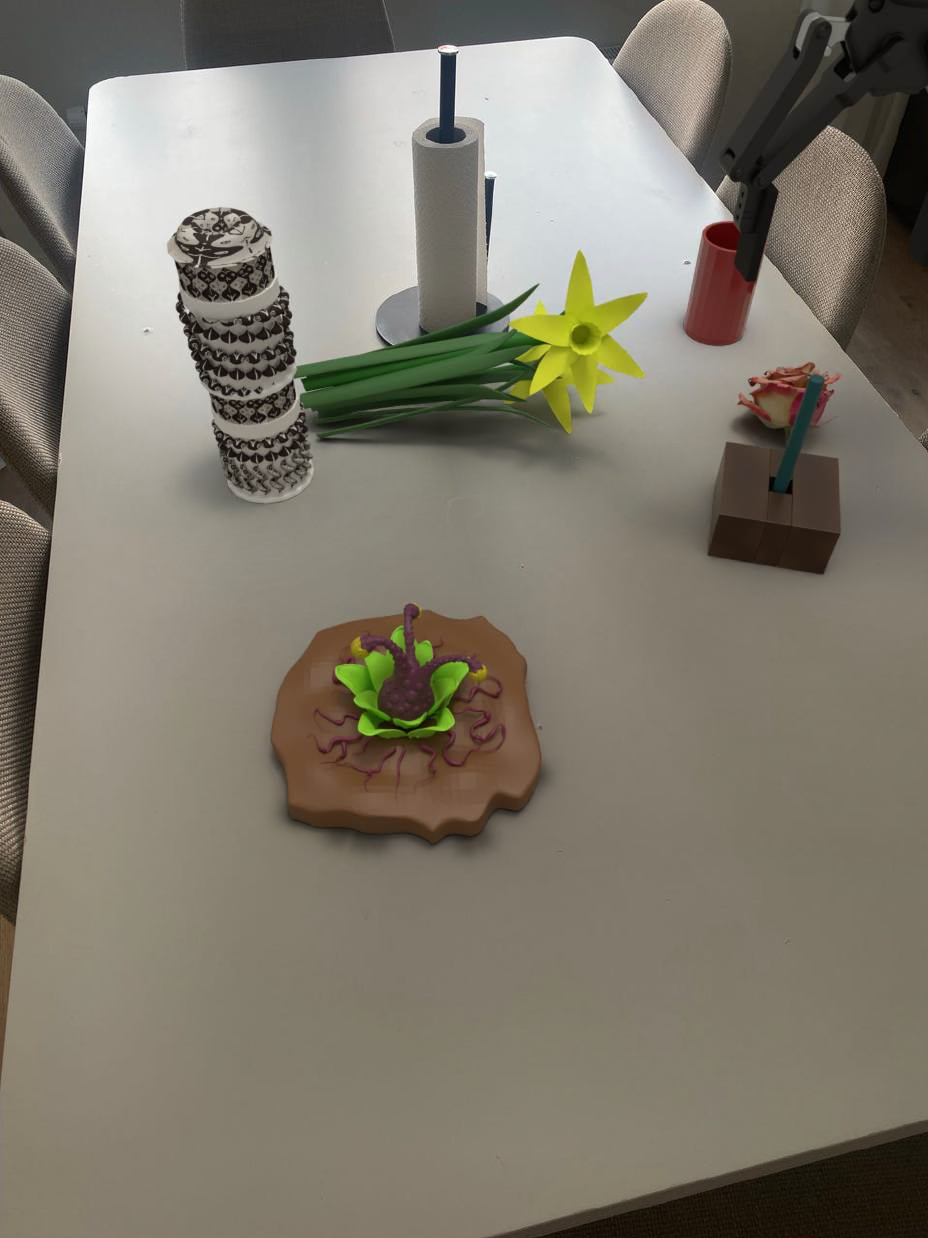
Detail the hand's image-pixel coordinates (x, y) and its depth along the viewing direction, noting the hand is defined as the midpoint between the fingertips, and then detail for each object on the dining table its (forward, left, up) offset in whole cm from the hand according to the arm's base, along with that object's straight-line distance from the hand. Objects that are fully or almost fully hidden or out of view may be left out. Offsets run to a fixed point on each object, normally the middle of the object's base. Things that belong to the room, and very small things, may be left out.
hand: (832, 265), depth 68 cm
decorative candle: (+46, +7, -24) cm, 52 cm away
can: (+6, -29, -24) cm, 38 cm away
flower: (-2, -12, -24) cm, 27 cm away
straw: (-1, +3, -24) cm, 24 cm away
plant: (+25, +32, -24) cm, 47 cm away
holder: (-1, +3, -24) cm, 24 cm away
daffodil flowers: (+30, -4, -24) cm, 38 cm away
